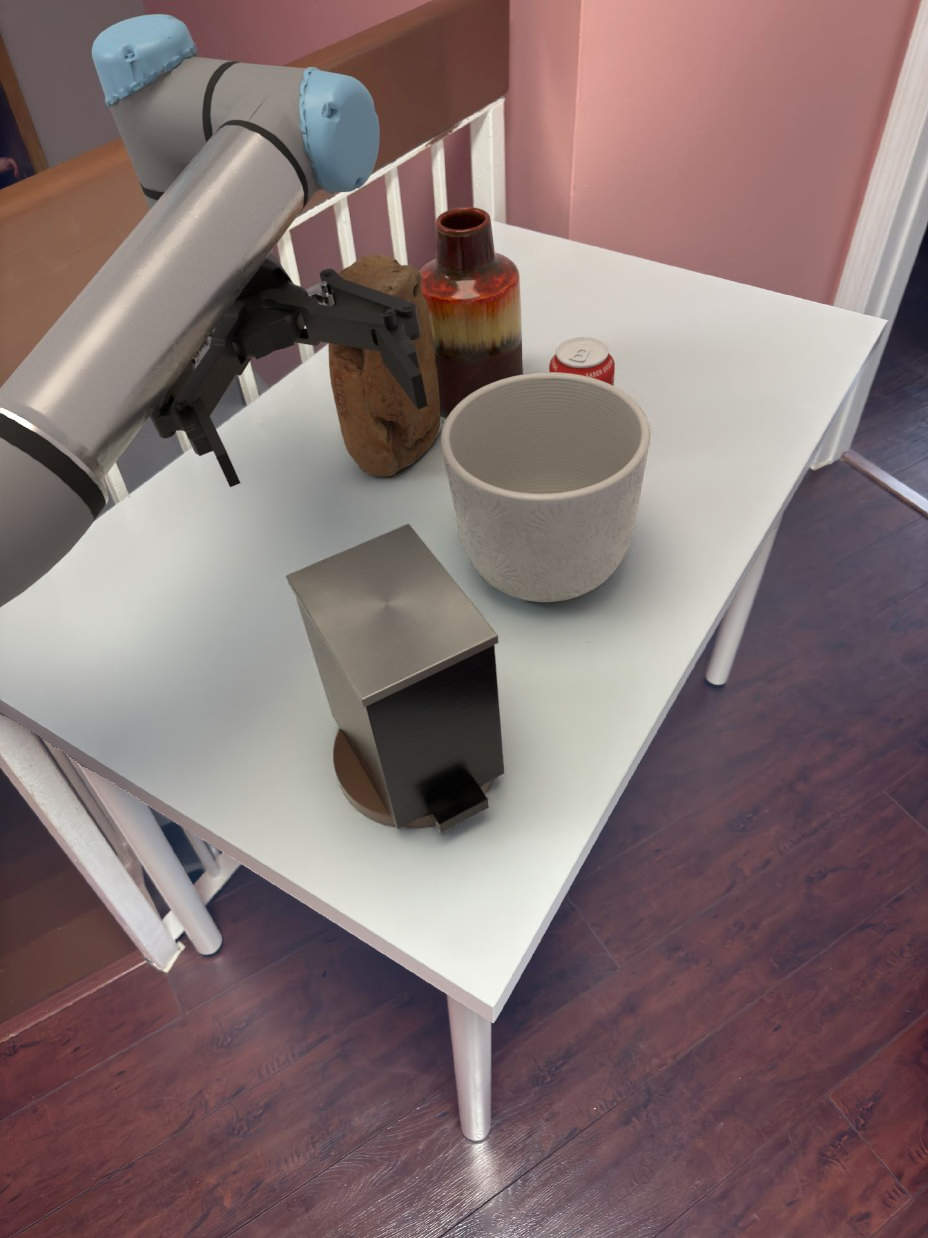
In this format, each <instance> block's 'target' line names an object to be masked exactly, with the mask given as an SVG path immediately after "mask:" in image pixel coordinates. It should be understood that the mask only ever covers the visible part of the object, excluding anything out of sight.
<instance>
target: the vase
mask: <svg viewBox="0 0 928 1238" xmlns="http://www.w3.org/2000/svg"><path fill="white" fill-rule="evenodd" d="M491 219H492V218H491V216H490V214H489V212H488V211H486V210H484V209H482V208H479V207H473V206H460V207H454V208H451V209H448V210H446V211H443V212H442V213H440V214H439V215H438V216H437V218H436V219H435V252H436V257H434V258H433V259H431V260H430V261H428V262H427V263H425V264H424V265H423V266H422V267H421V269H420V270H419V271H420V273H421V279H422V296H423V297H424V299H425V301H426V303H427V307H428V314H429V322H430V324H431V330H432V335H433V345H434V354H435V365H436V369H437V376H438V386H439V399H440V416H442V417H444V418H446V419H447V417H448V416H449V414H450V413H451V411H452V410H453V409H454V408H455V407H456V405H458V404H459V403H460V402H461V401H462V400H463V399H464V398H466V397H467V396H468V395H470V394H471V393H473V392H475V391H476V390H478V389H480V388H482V387H484V386H486V385H488V384H491V383H493V382H496V381H499V380H502V379H506V378H509V377H513V376H518V375H524V366H523V365H524V364H523V363H524V361H523V330H522V329H523V327H522V305H521V304H522V302H521V301H522V300H521V277H520V271H519V269H518V266H517V264H515V262H514V261H513V260H511V259H510V258H509V257H508V256H506V255H504V254H501V253H499V252H496V250H495V242H494V236H493V235H494V234H493V227H492V220H491Z"/></svg>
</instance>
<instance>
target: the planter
mask: <svg viewBox="0 0 928 1238" xmlns="http://www.w3.org/2000/svg"><path fill="white" fill-rule="evenodd" d="M650 444H651V426H650V422H649V420H648V417H647V415H646V413H645V412H644V410H643V409H642V407H641V406H640V405H639V404H638V402H637V401H636V400H635V399H634V398H633V397H631V396H630V395H629V394H627V393H626V392H624V391H623V390H622V389H620V388H618V387H617V386H615V385H614V386H612V385H610V384H608V383H606V382H603V381H600V380H597V379H594V378H591V377H586V376H582V375H576V374H569V373H555V372H549V371H548V372H546V371H545V372H534V373H533V372H532V373H525V374H524V373H523V375H518V376H513V377H509V378H506V379H502V380H499V381H496V382H493V383H491V384H488V385H486V386H484V387H482V388H480V389H478V390H476V391H475V392H473V393H471V394H470V395H468V396H467V397H466V398H464V399H463V400H462V401H461V402H460V403H459V404H458V405H456V407H455V408H454V409H453V410H452V411H451V413H450V414H449V416H448V417H447V418H446V419H445V421H444V423H443V425H442V429H441V435H440V447H441V452H442V456H443V457H442V458H443V461H444V466H445V470H446V476H447V481H448V485H449V490H450V494H451V500H452V505H453V510H454V514H455V519H456V524H457V528H458V534H459V537H460V542H461V544H462V547H463V549H464V551H465V554H466V556H467V557H468V559H469V561H470V563H471V565H472V566H473V568H475V570H476V571H477V573H478V574H479V575H480V576H481V577H482V578H483V579H484V580H485V581H486V582H487V583H488V584H489V585H491V586H492V587H494V588H495V589H496V590H498V591H500V592H502V593H504V594H506V595H508V596H510V597H513V598H516V599H520V600H524V601H528V602H533V603H557V602H562V601H567V600H571V599H575V598H578V597H580V596H583V595H585V594H587V593H589V592H591V591H593V590H595V589H596V588H598V587H599V586H602V584H603V583H604V582H606V581H607V580H608V579H609V578H610V577H611V576H612V575H613V573H614V572H615V571H616V570H617V568H618V567H619V566H620V564H621V563H622V561H623V559H624V558H625V556H626V553H628V552H627V551H628V549H629V547H630V544H631V541H632V539H633V535H634V531H635V526H636V521H637V514H638V510H639V505H640V499H641V494H642V487H643V483H644V477H645V472H646V465H647V461H648V454H649V450H650Z"/></svg>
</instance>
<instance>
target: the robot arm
mask: <svg viewBox="0 0 928 1238" xmlns="http://www.w3.org/2000/svg"><path fill="white" fill-rule="evenodd" d="M91 58H92V61H93V65H94V67H95V70H96V73H97V76H98V80H99V82H100V85H101V88H102V91H103V94H104V97H105V98H104V102H105V105H106V107H108V109H109V111H110V115H111V116H112V119H113V121H114V123H115V127H116V128H117V131H118V133H119V135H120V138H121V141H122V143H123V145H124V148H125V150H126V152H127V155H128V158H129V159H130V163H131V164H132V167H133V169H134V172H135V175H136V176H137V179H138V183H139V185H140V187H141V192H142V193H143V196H144V199H145V202H146V204H147V208H148V211H147V212H146V214H145V215H144V216H143V217H142V219H141V220H140V221H139V222H138V223H137V225H136V226H135V227H134V228H133V229H132V231H131V232H130V233H129V234H128V235H127V236H126V238H125V239H124V240H123V241H122V242H121V244H120V245H119V246H118V248H117V249H116V250H115V251H114V252H113V253H112V255H111V256H110V257H109V258H108V259H107V260H106V262H105V263H104V264H103V265H102V266H101V268H100V269H99V270H98V271H97V273H95V275H94V276H93V277H92V278H91V280H90V281H89V282H88V283H87V284H86V286H84V288H83V289H82V290H81V291H80V292H79V294H77V296H76V298H75V299H74V300H73V301H72V303H70V305H68V307H67V308H66V309H65V311H64V312H63V313H62V314H61V315H60V316H59V317H58V319H57V320H56V321H55V323H54V324H53V325H52V326H51V328H49V330H48V331H47V332H46V333H45V334H44V336H43V337H42V338H41V339H40V340H39V341H38V343H37V344H36V345H35V346H34V348H33V349H32V350H31V351H30V352H29V353H28V355H26V357H25V358H24V359H23V360H22V362H21V363H20V364H19V365H18V367H17V368H15V369H14V371H13V372H12V374H11V375H10V376H9V377H8V379H6V381H5V382H4V383H3V384H2V386H1V387H0V608H2V607H3V606H5V605H6V604H8V603H10V602H11V601H13V600H14V599H16V598H17V597H19V596H20V595H21V594H23V593H25V592H26V591H27V590H28V589H29V588H30V587H32V586H33V585H34V584H36V583H37V582H38V581H39V580H40V579H41V578H43V577H44V576H46V575H47V573H49V572H50V571H51V570H52V569H53V568H54V567H55V566H56V565H57V564H58V563H59V562H60V561H62V559H63V558H65V557H66V556H67V555H68V554H69V553H70V551H71V550H72V549H73V548H74V547H75V546H76V545H77V544H78V543H79V541H80V540H81V539H82V538H83V536H84V535H85V534H86V533H87V531H89V529H90V527H92V525H93V523H94V522H95V520H96V519H97V518H98V516H99V515H100V513H101V512H102V511H103V510H104V508H105V507H106V505H107V504H108V502H109V501H110V499H109V493H108V489H107V488H108V487H107V484H106V476H107V475H108V474H109V472H110V470H111V469H112V468H113V467H114V465H115V464H116V463H117V461H118V460H119V459H120V457H121V456H122V454H123V453H124V452H125V451H126V449H127V448H128V446H129V445H130V443H131V442H132V441H133V439H135V437H136V435H138V433H139V431H140V430H141V429H142V427H143V426H144V425H145V423H146V422H147V421H148V419H150V420H151V422H152V424H153V427H154V429H155V430H156V433H157V434H158V436H159V437H160V438H161V439H170V438H171V437H173V436H175V434H176V433H177V431H178V432H180V431H181V432H184V433H185V435H186V437H187V440H188V441H189V443H190V446H191V447H192V450H193V452H194V454H196V455H197V456H198V457H201V456H204V455H206V454H209V453H211V452H213V454H214V456H215V459H216V460H217V463H218V464H219V468H220V469H221V471H222V473H223V475H224V477H225V480H226V482H227V484H228V486H229V488H232V487H235V486H237V485H240V484H241V481H240V478H239V476H238V474H237V472H236V470H235V467H234V465H233V463H232V460H231V458H230V455H229V453H228V451H227V449H226V447H225V445H224V443H223V441H222V439H221V437H220V434H219V432H218V431H217V429H216V426H215V424H214V422H213V420H212V418H211V415H212V414H213V412H214V410H215V409H216V407H217V406H218V404H219V402H220V401H221V399H222V398H223V396H224V395H225V393H226V391H227V390H228V388H229V386H230V385H231V384H232V382H233V380H234V379H235V377H236V376H242V375H243V373H244V372H245V370H246V369H247V368H248V366H249V364H250V362H251V360H252V359H254V358H255V360H260V359H261V358H264V357H267V356H268V355H270V354H272V353H274V352H276V351H279V350H284V349H287V348H290V347H292V346H295V345H296V344H302V345H308V346H313V347H317V346H318V345H319V344H320V343H328V344H329V343H332V344H338V345H344V346H350V347H356V348H362V349H368V350H374V351H380V353H381V357H382V361H383V363H384V364H385V365H386V367H387V368H388V369H389V371H390V372H391V374H392V375H393V376H394V378H395V379H396V380H397V382H398V383H399V384H400V386H401V387H402V389H403V390H404V391H405V393H406V394H407V395H408V397H409V398H410V399H411V401H412V402H413V404H414V405H415V406H416V408H417V409H418V410H419V409H421V408H424V407H426V406H428V404H427V399H426V394H425V389H424V384H423V379H422V374H421V373H420V371H419V370H418V369H417V368H419V360H418V355H417V351H416V346H415V345H414V344H413V343H412V341H411V340H416V339H418V338H420V337H421V330H420V324H419V319H418V314H417V309H416V305H415V304H414V303H412V302H409V301H406V300H403V299H401V298H398V297H395V296H392V295H389V294H386V293H383V292H380V291H377V290H374V289H371V288H369V287H366V286H363V285H360V284H357V283H354V282H351V281H348V280H345V279H343V278H342V277H341V276H340V275H339V273H338V272H337V271H335V270H334V269H333V268H326V269H323V270H322V271H320V272H319V278H320V281H321V282H318V283H316V284H314V285H312V286H310V287H308V288H305V287H303V286H301V285H297V284H295V283H294V282H293V280H292V279H291V277H290V275H289V274H288V272H287V271H286V270H285V269H284V267H283V265H282V264H281V262H280V261H279V260H278V258H277V257H276V255H275V253H274V252H273V250H274V248H275V247H276V246H277V244H278V243H279V242H280V240H282V238H283V236H284V235H285V233H286V232H287V231H288V230H289V229H290V227H291V225H293V223H294V221H295V220H296V219H297V217H298V216H299V215H300V214H301V213H302V212H303V210H304V208H305V207H306V206H307V205H308V204H309V203H310V201H311V200H312V199H313V197H314V196H315V194H316V193H317V192H318V191H322V190H324V191H325V192H327V194H335V193H351V192H353V191H355V190H357V189H361V188H362V187H363V186H364V185H365V184H366V182H368V180H369V179H370V177H371V175H372V174H373V172H374V168H375V166H376V163H377V160H378V155H379V148H380V141H381V140H380V136H381V135H380V134H381V133H380V130H381V129H380V122H379V115H378V114H377V112H376V108H375V102H374V99H373V97H372V95H371V93H370V91H369V90H368V89H367V87H366V86H365V85H364V84H363V83H362V82H361V81H360V80H358V79H357V78H356V77H354V76H350V75H347V74H342V73H336V72H331V71H326V70H322V69H320V68H318V67H315V66H308V67H307V68H305V67H295V66H294V67H293V66H284V65H274V64H273V65H270V64H260V63H259V64H258V63H249V62H240V61H235V60H227V59H218V58H209V57H201V56H200V57H199V54H198V48H197V45H196V43H195V42H194V39H193V37H192V35H191V33H190V30H189V29H188V26H187V25H186V23H184V21H181V20H180V19H177V17H175V16H174V15H170V14H161V13H157V14H156V13H155V14H154V13H153V14H145V15H139V16H134V17H130V18H127V19H124V20H121V21H119V22H117V23H114V24H113V25H110V26H109V27H107V28H105V30H102V31H101V32H100V33H99V34H98V36H96V38H95V40H94V41H93V44H92V47H91ZM295 343H296V344H295ZM207 346H209V348H208V349H207V351H206V352H205V353H204V355H203V357H202V358H201V357H200V356H201V354H202V351H203V350H204V348H206V347H207Z"/></svg>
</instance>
